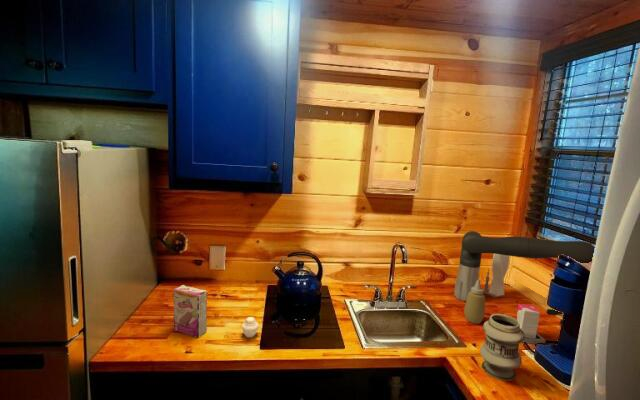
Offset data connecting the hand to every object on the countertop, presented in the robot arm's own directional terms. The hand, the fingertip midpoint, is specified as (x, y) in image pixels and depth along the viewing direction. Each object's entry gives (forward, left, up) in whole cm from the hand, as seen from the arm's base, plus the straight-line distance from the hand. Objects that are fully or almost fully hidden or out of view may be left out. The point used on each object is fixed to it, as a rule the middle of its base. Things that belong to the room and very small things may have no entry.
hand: (553, 316), depth 132 cm
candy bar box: (-138, -16, -9) cm, 139 cm away
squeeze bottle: (-26, +10, -9) cm, 29 cm away
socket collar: (-10, 0, -9) cm, 13 cm away
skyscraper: (-3, +41, -9) cm, 42 cm away
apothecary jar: (-31, -24, -9) cm, 40 cm away
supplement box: (-10, 0, -9) cm, 13 cm away
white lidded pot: (-116, -15, -9) cm, 117 cm away
